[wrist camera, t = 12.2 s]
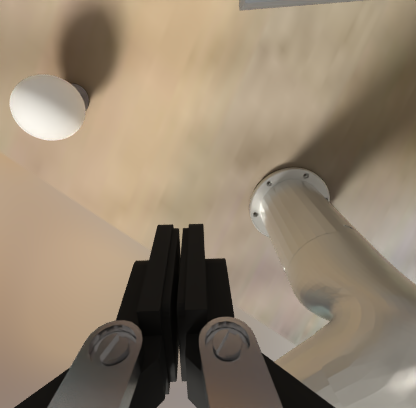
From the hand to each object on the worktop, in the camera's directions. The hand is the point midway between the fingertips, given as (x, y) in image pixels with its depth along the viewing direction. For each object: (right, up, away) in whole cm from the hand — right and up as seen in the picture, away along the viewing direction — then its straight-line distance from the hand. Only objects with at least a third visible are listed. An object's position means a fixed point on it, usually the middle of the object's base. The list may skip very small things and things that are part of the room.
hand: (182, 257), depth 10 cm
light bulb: (-17, +16, +26) cm, 34 cm away
